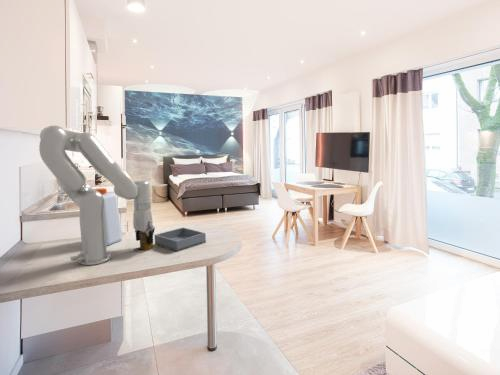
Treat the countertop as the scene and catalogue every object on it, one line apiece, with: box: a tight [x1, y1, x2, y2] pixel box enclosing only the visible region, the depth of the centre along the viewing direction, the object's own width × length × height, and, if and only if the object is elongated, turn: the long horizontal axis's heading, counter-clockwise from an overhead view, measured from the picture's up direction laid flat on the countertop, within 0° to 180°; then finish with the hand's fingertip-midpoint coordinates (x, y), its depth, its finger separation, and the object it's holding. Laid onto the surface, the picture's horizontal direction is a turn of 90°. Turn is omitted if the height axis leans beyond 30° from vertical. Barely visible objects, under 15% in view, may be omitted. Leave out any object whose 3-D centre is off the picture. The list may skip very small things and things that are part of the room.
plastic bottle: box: [94, 187, 123, 247], centre depth 163 cm, size 15×15×28 cm
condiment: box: [133, 231, 157, 253], centre depth 153 cm, size 7×8×12 cm
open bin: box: [154, 227, 207, 253], centre depth 161 cm, size 18×18×5 cm
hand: (144, 241), depth 153 cm, fingers open, 8 cm apart
